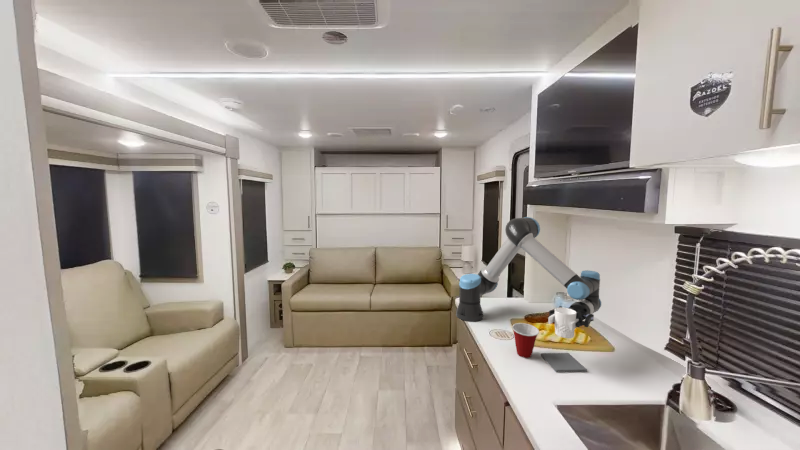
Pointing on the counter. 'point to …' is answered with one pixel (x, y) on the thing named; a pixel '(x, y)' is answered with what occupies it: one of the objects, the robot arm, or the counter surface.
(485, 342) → the counter surface
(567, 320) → the white cup
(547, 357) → the charcoal mat
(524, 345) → the plastic cup
